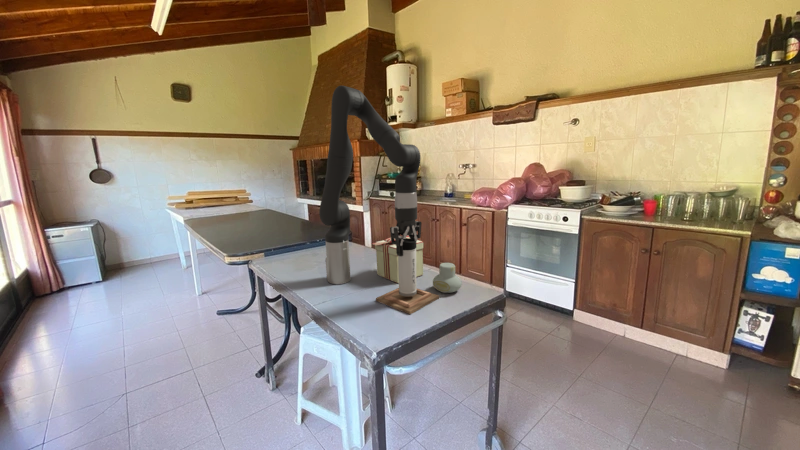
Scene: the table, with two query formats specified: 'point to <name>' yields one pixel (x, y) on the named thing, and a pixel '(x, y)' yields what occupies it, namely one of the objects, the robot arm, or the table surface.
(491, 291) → the table surface
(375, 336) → the table surface
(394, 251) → the gift box
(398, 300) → the tan square plate
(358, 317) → the table surface
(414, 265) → the travel mug
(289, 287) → the table surface
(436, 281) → the air freshener
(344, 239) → the robot arm
